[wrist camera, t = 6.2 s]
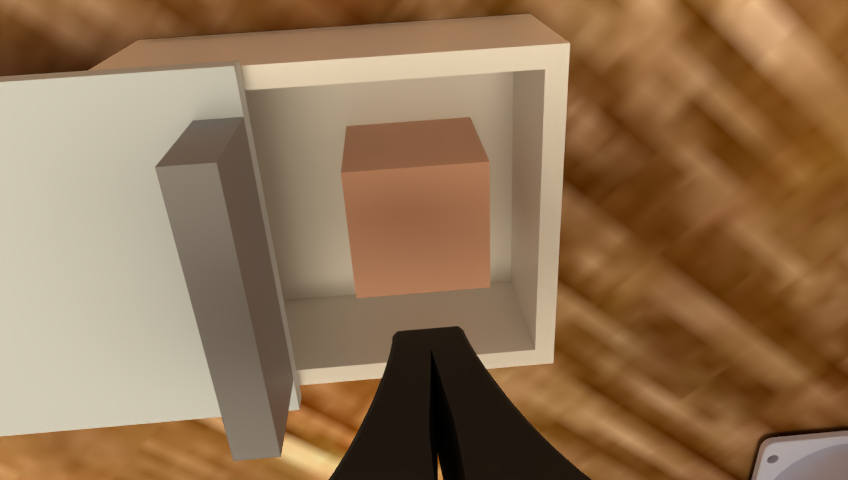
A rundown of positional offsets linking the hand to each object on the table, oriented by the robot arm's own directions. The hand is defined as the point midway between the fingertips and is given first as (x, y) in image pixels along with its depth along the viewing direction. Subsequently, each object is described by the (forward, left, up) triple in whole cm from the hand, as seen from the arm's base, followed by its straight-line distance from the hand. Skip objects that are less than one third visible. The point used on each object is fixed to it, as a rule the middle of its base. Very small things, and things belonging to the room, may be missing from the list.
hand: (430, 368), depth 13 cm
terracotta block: (0, 0, -10) cm, 10 cm away
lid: (0, +10, -5) cm, 11 cm away
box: (0, +2, -10) cm, 11 cm away
